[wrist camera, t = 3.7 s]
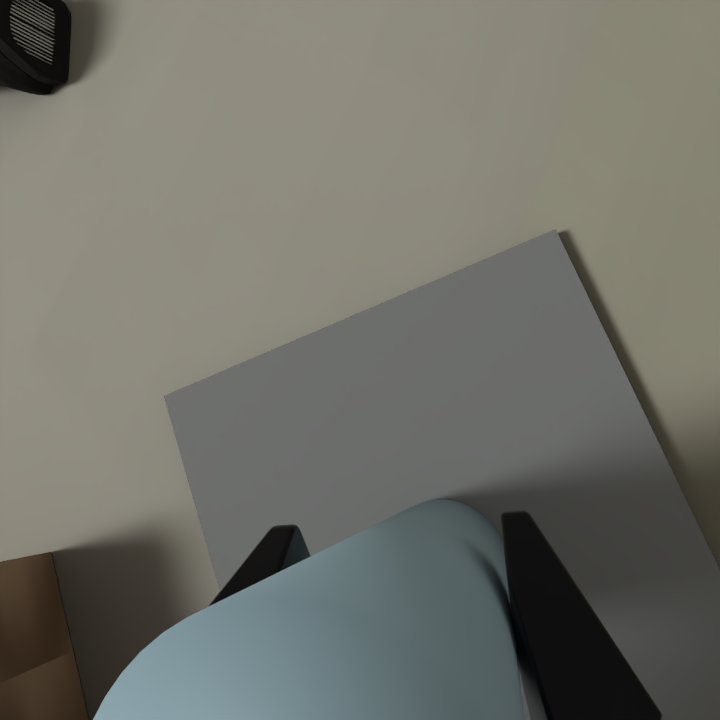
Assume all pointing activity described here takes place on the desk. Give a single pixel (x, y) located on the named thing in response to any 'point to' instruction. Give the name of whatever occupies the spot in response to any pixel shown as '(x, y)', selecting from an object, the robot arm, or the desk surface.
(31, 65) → the electric trimmer
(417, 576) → the peg
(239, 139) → the desk surface
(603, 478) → the mat
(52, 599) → the hole block
